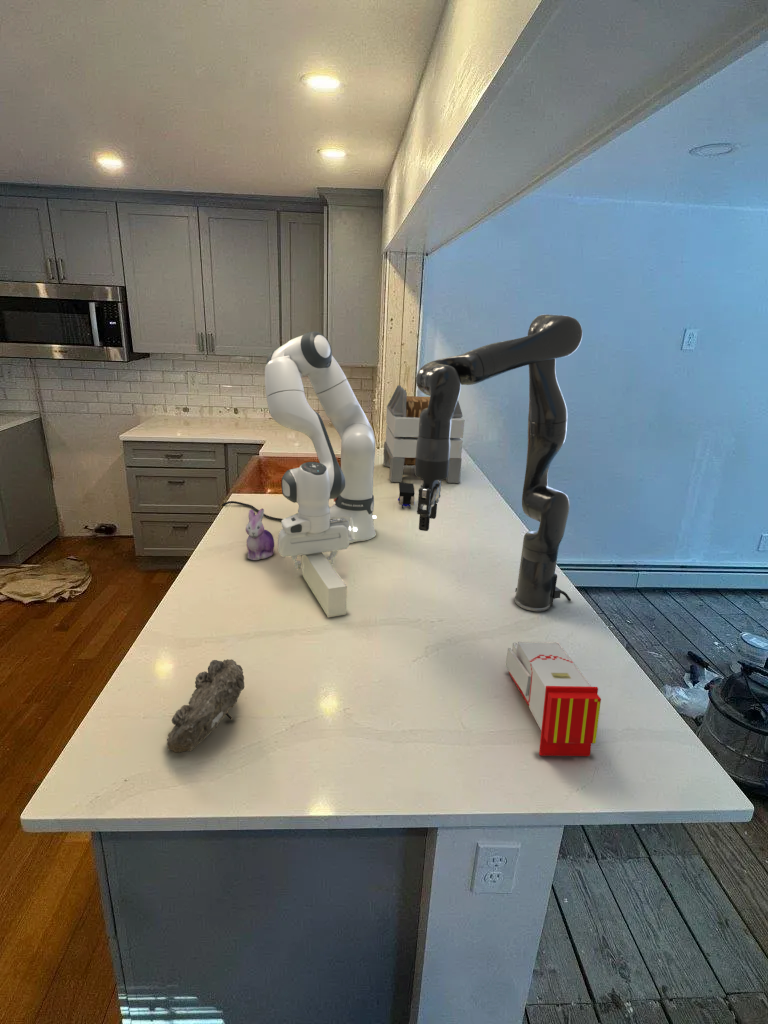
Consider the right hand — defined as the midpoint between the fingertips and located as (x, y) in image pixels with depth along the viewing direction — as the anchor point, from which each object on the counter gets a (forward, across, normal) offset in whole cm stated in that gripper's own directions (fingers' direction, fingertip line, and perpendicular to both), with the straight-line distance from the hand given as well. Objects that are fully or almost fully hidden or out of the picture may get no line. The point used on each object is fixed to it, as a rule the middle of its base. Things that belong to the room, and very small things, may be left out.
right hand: (427, 523), depth 131 cm
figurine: (+28, +26, +57) cm, 68 cm away
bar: (+28, +9, +29) cm, 41 cm away
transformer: (+28, +139, +31) cm, 145 cm away
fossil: (+28, -44, +31) cm, 61 cm away
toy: (+28, -20, -30) cm, 46 cm away
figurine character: (+28, +90, +26) cm, 98 cm away
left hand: (+24, +16, +35) cm, 45 cm away
